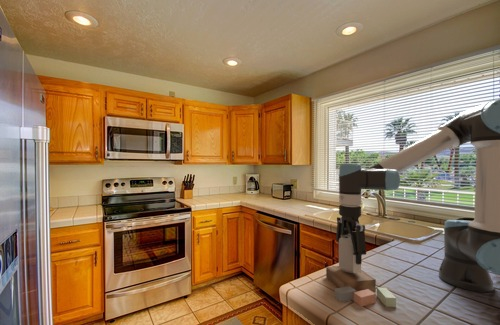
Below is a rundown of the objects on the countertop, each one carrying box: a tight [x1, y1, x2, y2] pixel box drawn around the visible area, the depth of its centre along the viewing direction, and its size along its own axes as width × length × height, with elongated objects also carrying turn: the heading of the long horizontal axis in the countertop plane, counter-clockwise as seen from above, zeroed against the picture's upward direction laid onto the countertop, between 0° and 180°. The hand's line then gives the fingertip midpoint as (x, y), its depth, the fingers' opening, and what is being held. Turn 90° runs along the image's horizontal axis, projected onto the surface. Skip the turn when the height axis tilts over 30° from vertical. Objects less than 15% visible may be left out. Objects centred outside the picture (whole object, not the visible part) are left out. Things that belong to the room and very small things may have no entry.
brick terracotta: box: [353, 289, 377, 307], centre depth 74 cm, size 6×3×3 cm, turn 111°
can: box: [338, 234, 358, 273], centre depth 86 cm, size 8×8×12 cm
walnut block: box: [325, 265, 377, 292], centre depth 86 cm, size 12×12×4 cm
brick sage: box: [376, 286, 397, 308], centre depth 75 cm, size 6×3×3 cm, turn 176°
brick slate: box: [334, 286, 356, 303], centre depth 76 cm, size 6×3×3 cm, turn 109°
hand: (349, 267), depth 86 cm, fingers closed on can, 7 cm apart
